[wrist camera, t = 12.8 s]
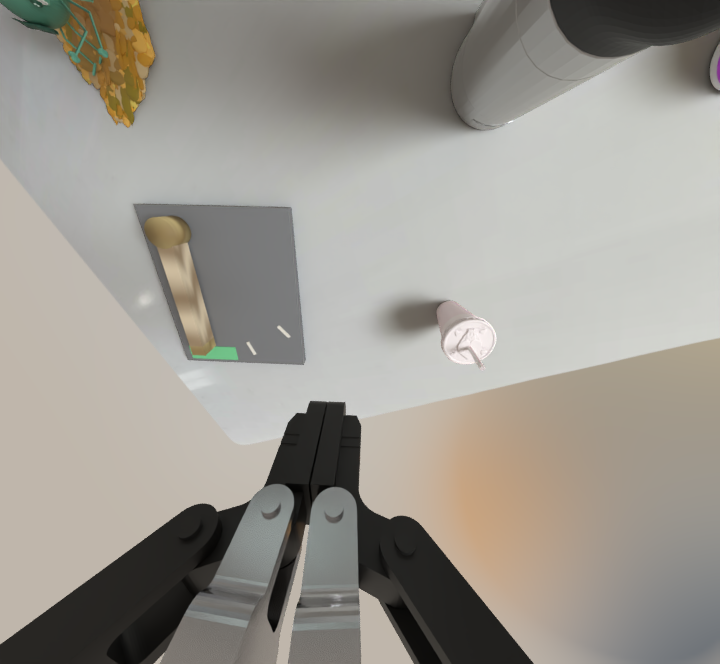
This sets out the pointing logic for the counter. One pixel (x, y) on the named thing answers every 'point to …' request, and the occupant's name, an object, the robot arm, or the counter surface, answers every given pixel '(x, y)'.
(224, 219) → the dial plate
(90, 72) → the green cartoon bug figurine
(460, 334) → the smoothie
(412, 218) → the counter surface
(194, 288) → the dial lever
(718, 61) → the supplement bottle
